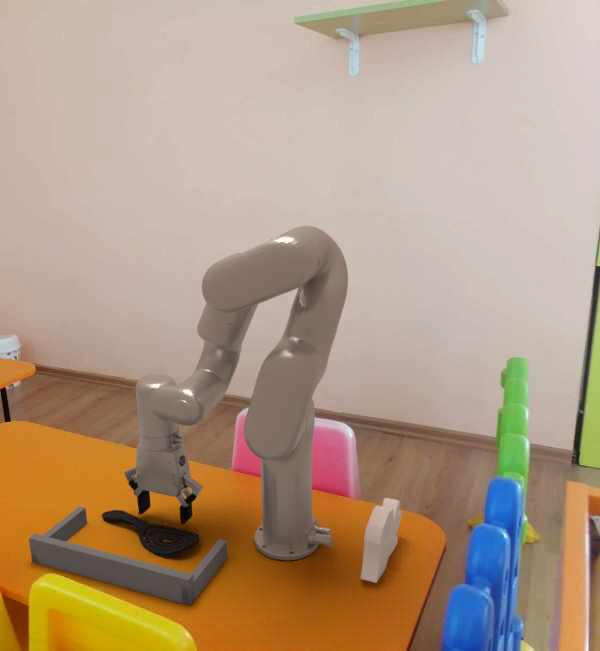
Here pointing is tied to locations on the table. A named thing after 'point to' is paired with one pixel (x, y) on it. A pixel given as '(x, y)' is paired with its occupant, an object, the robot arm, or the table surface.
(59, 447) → the table surface
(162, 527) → the hairbrush
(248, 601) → the table surface
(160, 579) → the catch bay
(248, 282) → the robot arm
